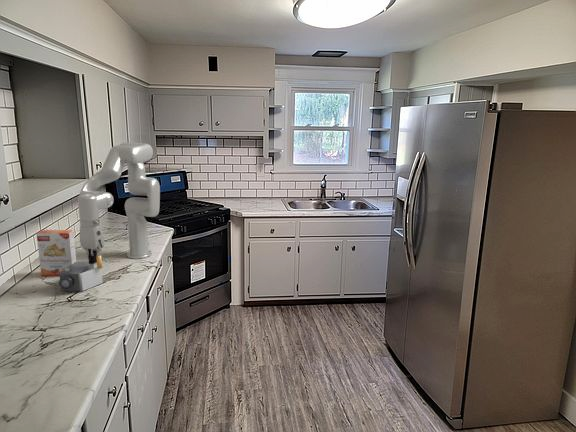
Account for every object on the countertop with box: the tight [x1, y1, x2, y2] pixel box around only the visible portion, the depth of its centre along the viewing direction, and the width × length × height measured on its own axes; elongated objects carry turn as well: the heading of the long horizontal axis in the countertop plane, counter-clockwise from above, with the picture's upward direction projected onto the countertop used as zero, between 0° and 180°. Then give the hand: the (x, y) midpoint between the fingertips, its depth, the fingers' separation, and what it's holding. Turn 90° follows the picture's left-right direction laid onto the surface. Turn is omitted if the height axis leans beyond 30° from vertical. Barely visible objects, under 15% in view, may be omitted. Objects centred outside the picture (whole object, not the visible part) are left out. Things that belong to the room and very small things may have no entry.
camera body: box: [58, 261, 95, 292], centre depth 177 cm, size 17×8×9 cm, turn 1°
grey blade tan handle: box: [78, 254, 104, 293], centre depth 174 cm, size 11×2×13 cm, turn 153°
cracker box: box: [36, 229, 77, 277], centre depth 188 cm, size 14×6×21 cm, turn 98°
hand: (93, 263), depth 179 cm, fingers closed
